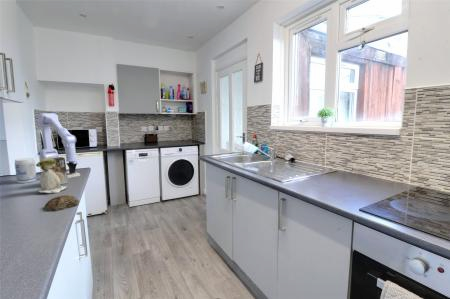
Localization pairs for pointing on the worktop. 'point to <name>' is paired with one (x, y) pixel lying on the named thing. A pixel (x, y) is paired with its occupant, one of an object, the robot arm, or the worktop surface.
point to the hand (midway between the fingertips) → (73, 172)
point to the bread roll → (61, 203)
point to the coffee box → (60, 170)
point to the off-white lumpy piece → (49, 177)
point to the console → (72, 174)
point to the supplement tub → (25, 170)
